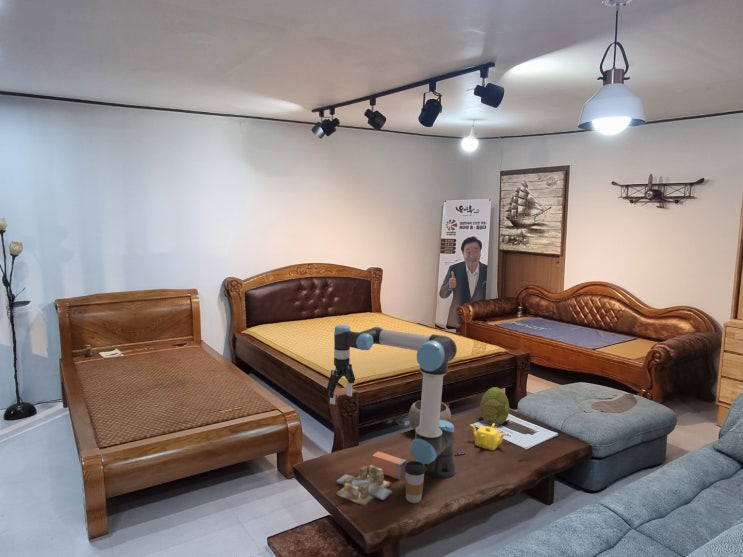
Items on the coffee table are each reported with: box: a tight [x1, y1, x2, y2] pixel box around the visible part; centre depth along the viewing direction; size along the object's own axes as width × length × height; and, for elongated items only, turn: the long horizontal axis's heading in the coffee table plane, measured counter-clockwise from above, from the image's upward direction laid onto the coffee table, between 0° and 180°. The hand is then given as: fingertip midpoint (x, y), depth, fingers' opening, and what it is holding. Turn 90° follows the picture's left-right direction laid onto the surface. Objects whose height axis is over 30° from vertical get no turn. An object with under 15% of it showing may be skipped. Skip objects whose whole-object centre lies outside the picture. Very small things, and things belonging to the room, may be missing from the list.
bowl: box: [407, 400, 452, 431], centre depth 281 cm, size 23×23×15 cm
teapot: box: [469, 423, 507, 451], centre depth 267 cm, size 15×14×10 cm
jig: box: [336, 464, 393, 506], centre depth 221 cm, size 24×20×6 cm
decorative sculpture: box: [479, 386, 510, 425], centre depth 297 cm, size 16×16×20 cm
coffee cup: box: [404, 460, 426, 504], centre depth 215 cm, size 8×8×15 cm
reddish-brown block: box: [371, 451, 407, 480], centre depth 237 cm, size 5×15×7 cm, turn 57°
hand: (341, 399), depth 251 cm, fingers open, 13 cm apart
